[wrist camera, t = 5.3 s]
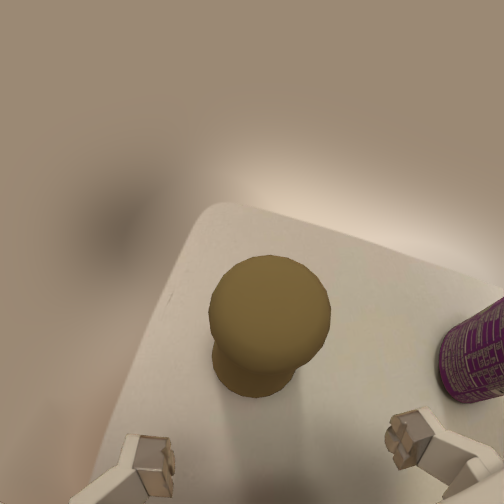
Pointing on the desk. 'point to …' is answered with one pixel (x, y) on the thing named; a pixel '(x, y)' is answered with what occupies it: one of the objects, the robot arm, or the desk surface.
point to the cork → (266, 323)
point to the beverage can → (475, 356)
